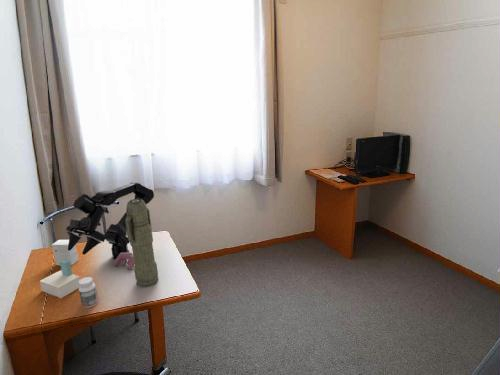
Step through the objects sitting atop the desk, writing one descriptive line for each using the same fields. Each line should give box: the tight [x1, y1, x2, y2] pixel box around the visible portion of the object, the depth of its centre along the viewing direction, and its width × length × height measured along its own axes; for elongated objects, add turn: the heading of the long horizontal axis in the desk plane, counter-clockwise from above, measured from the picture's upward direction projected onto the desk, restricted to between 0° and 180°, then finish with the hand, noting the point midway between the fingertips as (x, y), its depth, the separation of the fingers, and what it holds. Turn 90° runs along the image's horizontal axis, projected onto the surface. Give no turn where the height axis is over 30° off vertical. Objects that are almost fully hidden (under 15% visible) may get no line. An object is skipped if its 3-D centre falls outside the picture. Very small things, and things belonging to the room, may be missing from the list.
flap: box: [39, 259, 81, 289], centre depth 140 cm, size 9×12×7 cm
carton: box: [39, 278, 81, 299], centre depth 142 cm, size 9×12×4 cm
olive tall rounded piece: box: [125, 198, 159, 288], centre depth 139 cm, size 9×12×35 cm
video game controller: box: [113, 251, 135, 270], centre depth 158 cm, size 10×5×7 cm, turn 65°
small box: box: [51, 239, 79, 266], centre depth 162 cm, size 8×6×10 cm
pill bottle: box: [78, 276, 99, 309], centre depth 130 cm, size 6×6×10 cm
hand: (75, 252), depth 146 cm, fingers open, 9 cm apart
